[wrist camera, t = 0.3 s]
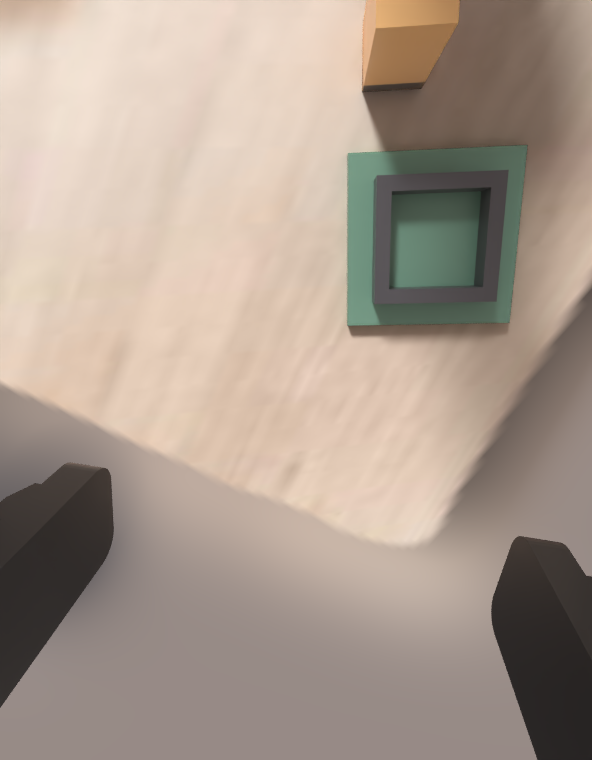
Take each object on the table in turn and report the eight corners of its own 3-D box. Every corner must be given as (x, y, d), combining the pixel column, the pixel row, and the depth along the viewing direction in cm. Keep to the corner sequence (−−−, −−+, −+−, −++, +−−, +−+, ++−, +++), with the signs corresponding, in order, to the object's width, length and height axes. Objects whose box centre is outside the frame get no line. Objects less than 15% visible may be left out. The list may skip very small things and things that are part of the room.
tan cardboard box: (363, 23, 30) (377, -72, 21) (424, 19, 29) (464, -79, 21) (362, 91, 31) (375, 28, 22) (421, 88, 30) (458, 23, 22)
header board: (347, 156, 32) (349, 146, 29) (521, 148, 31) (541, 137, 28) (347, 323, 35) (348, 329, 32) (504, 320, 34) (520, 327, 31)
